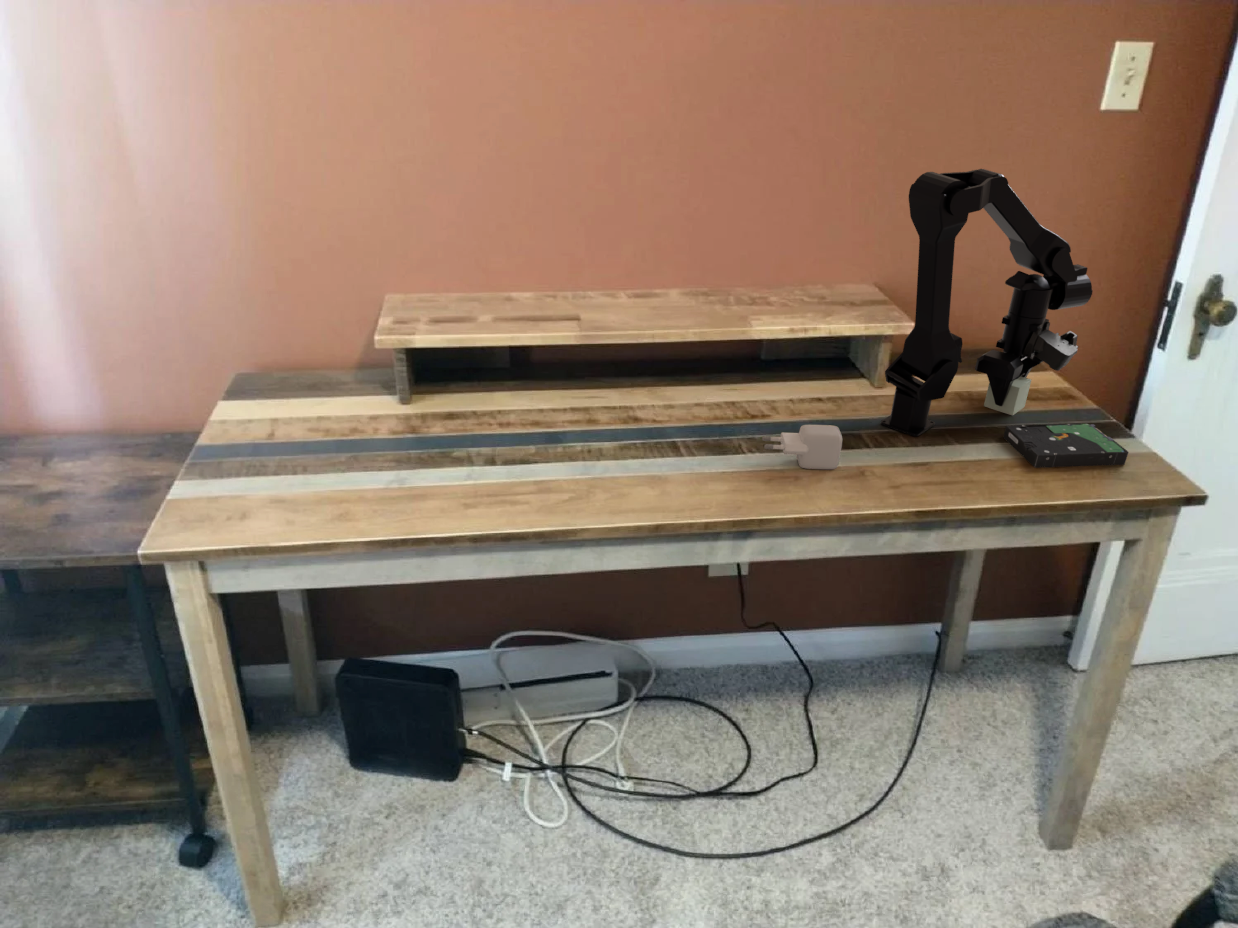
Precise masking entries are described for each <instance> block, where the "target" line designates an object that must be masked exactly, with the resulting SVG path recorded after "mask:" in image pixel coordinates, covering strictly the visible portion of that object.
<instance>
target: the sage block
mask: <svg viewBox="0 0 1238 928" xmlns="http://www.w3.org/2000/svg"><path fill="white" fill-rule="evenodd" d="M988 382H989V381H988ZM1031 383H1032V379H1031V378H1028V377H1026V378H1025V377H1019V378H1018V379H1015V380H1014V381H1013V383H1012V386H1011V388H1010V390H1009V393H1008V395H1007V397H1006V400H1005V402H1004V404H1003V406H998V405H996V404H995V401H994V397H993V393H992V390H991V386H990V382H989V383H988V386H987V391H986V394H985V399H984V403H983V407H986V408H989V409H991V410H994V411H998V412H1000V413H1004V414H1005V415H1009V416H1011V417H1012V416H1014V415H1015V414H1017V413H1018V412H1020V411H1022V409H1024V408H1025V406H1026V404H1027V403H1026V402H1027V399H1028V398H1027V397H1028V395H1029V391H1030V387H1031Z"/></svg>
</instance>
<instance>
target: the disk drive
mask: <svg viewBox="0 0 1238 928" xmlns="http://www.w3.org/2000/svg"><path fill="white" fill-rule="evenodd" d="M1002 438H1003V439H1004V440H1007V441H1006V442H1007V443H1008V444H1009V445H1010V446H1011V447H1012V448H1014V450H1015V451H1016V452H1018V453H1019V455H1020V456H1022V457H1023V459H1025V460H1026V461H1027V462H1028V463H1029V464H1031V466H1032V467H1033V468H1035V469H1038V468H1040V469H1041V468H1046V469H1047V468H1067V467H1068V468H1069V467H1071V468H1072V467H1093V466H1095V467H1096V466H1099V467H1101V466H1105V467H1106V466H1124V465H1125V464H1126V461H1127V459H1128V456H1129V451H1128V450H1127V449H1125V447H1124V446H1122V445H1120V444H1119V443H1118V442H1117V441H1115V439H1114V438H1112V437H1111V436H1107V435H1106V434H1105V433H1104V432H1102V431H1101V430H1100V429H1098V428H1097V427H1096V425H1095V424H1094V423H1092V424H1089V423H1079V422H1075V423H1073V422H1072V423H1048V424H1038V423H1037V424H1011V425H1006V426H1005V429H1004V433H1003V437H1002Z"/></svg>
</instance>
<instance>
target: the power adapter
mask: <svg viewBox="0 0 1238 928" xmlns="http://www.w3.org/2000/svg"><path fill="white" fill-rule="evenodd" d="M840 430H841V429H840V428H839V427H838V426H836V425H829V424H803V425H801V426H800V428H799V432H783V431H782V432H781V433H780V436H771V435H770V436H766V435H765V436H762V437H761V440H762V442H780V444H770V443H769V444H764V448H763V449H765V450H782V453H783V454H784V455H795V456H796V459H797V463H798V465H799V467H800V468H802V469H806V470H807V469H808V470H835V469H838V466H839V464H840V463H839V462H840V459H841V453H842V452H841V451H842V447H843V436H842V433H841V431H840Z"/></svg>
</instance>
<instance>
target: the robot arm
mask: <svg viewBox="0 0 1238 928" xmlns="http://www.w3.org/2000/svg"><path fill="white" fill-rule="evenodd" d="M908 205H909V214H910V219H911V222H912V224H913V226H914V228H915V230H916V232H917V235H918V238H919V242H918V261H917V263H918V264H917V281H916V302H915V303H916V304H915V318H914V319H915V320H914V321H915V322H914V327H913V328H912V330H911V331H910V332H909V334H908V335H907V336H906V338H904V339H905V340H904V344H903V349H902V352H901V353H900V354H899V355H898V356H897V358H896V359H895V360H894V361H893V362H891V364H890V365H889V366H888V367H887V368H886V369H885V371H884V375H885V382H887V383H888V384H891V385H893V386H894V387H895V391H894V396H893V401H892V406H891V407H892V408H891V412H890V415H888V416H886V417H885V418H883V419H882V420H880V424H881V425H882V426H885V427H888V428H889V429H890V428H891V429H893V430H897V431H898V432H902V433H904V434H907V435H910V436H912V437H919V436H921V435H922V434H924V433H925V432H926V431H929V430H930V429H931V428H933V427H934V426H936V425H935V424H936V422H935V421H933V420H931V419H928V418H929V414H930V408H931V404H932V401H934V400H940V399H944V398H945V396H946V394H947V392H948V390H949V388H950V386H951V384H952V383H953V381H954V378H955V376H956V375H957V372H958V370H959V369H958V368H959V364H961V363H962V362H963V359H962V348H963V338H962V337H960V336H959V335H957V334H954V333H953V332H951V330H950V313H951V299H952V289H953V288H952V287H953V275H954V273H953V272H954V271H953V270H954V259H955V244H956V238H957V236H958V235H959V234H960V232H961V230H962V229H964V227H965V225H966V223H967V221H968V218H969V214H970V213H971V214H972V213H974V212H980V211H981V210H982V209H983V210H984V211H985V212H986V213H987V214H988V215H989V216H990V218H991V219H992V220H993V222H995V224H996V225H997V226H998V227H999V228H1000V230H1001V231H1002V232H1003V233H1004V234H1005V236H1006V237H1007V239H1008V240H1009V242H1010V243H1009V248H1008V249H1009V251H1010V253H1011V255H1012V257H1013V259H1014V261H1015V263H1016V264H1017V265H1018V266H1020V267H1023V268H1025V269H1028V270H1030V271H1033V272H1035V273H1030V274H1029V273H1027V272H1024V271H1022V270H1018V271H1017V272H1016V273H1015V274H1013V275H1011V276H1010V277H1008V278H1007V279H1006V280H1005V282H1004V284H1005V285H1006V286H1008V287H1011V288H1013V292H1012V295H1011V300H1010V303H1009V308H1008V312H1007V314H1006V315H1004V316H1002V319H1001V324H1002V325H1004V328H1003V333H1002V337H1001V338H999V340H997V341H996V345H995V348H998V349H1001V350H1002V351H999V350H995V349H991V350H989V351H987V352H986V353H984V354H982V355H981V356H979V357H978V358H976V362H975V367H974V370H975V371H976V372H978V373H982V374H986V376H987V379H988V382H990V386H991V390H992V393H993V397H994V401H995V404H996V405H998V406H1003V404H1004V402H1005V400H1006V397H1007V395H1008V393H1009V390H1010V388H1011V386H1012V383H1013V381H1014V380H1015V379H1018V378H1019V377H1025V378H1028V375H1029V374H1030V372H1031V370H1032V369H1033V368H1035V367H1037V366H1038V365H1041V363H1046V364H1047V365H1048V366H1049V368H1051V369H1052V370H1054V371H1056V372H1058V371H1061V369H1063V368H1064V367H1066V366H1067V365H1068V364H1069V362H1070V361H1071V360H1072V358H1074V356H1075V355H1076V354H1077V353H1078V348H1079V346H1078V345H1077V342H1078V337H1079V336H1078V334H1076V333H1075V332H1073V331H1071V330H1069V331H1067V332H1065V333H1063V334H1061V335H1060V333H1059V332H1055V333H1054V332H1053V331H1051V330H1050V326H1051V322H1050V319H1049V318H1047V314H1048V311H1049V310H1050V311H1056V310H1064V309H1069V308H1070V309H1071V308H1077V307H1082V306H1085V305H1086V304H1087V303H1089V301H1090V300H1091V298H1092V295H1093V292H1094V291H1093V287H1092V282H1091V280H1090V279H1091V278H1089V276H1088V275H1087V273H1088V267H1087V266H1084V265H1081V264H1077V263H1076V264H1074V263H1073V260H1072V256H1071V252H1072V249H1071V246H1070V243H1069V242H1068V241H1067V240H1066V239H1064V238H1063V237H1061V236H1060V235H1059V234H1057V233H1055V232H1053V231H1052V230H1051V229H1048V228H1046V227H1044V226H1043V225H1042V224H1040V222H1039V221H1038V220H1037V219H1036V217H1035V216H1034V215H1033V213H1032V212H1031V211H1030V210H1029V208H1028V207H1027V206H1026V205H1025V203H1024V202H1023V201H1022V199H1020V197H1019V196H1018V194H1017V193H1016V192H1015V191H1014V189H1013V188H1012V187H1011V186H1010V184H1009V180H1008V179H1007V177H1005V176H1004V174H1002V173H999V172H995V171H991V170H989V169H985V168H979V169H972V170H968V171H957V172H954V171H953V172H941V173H938V172H934V171H926V172H924V173H922V174H921V175H919V176H918V177H917V178H916V180H915V181H914V183H912V184H910V188H909V190H908ZM1037 273H1038V274H1037Z"/></svg>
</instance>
